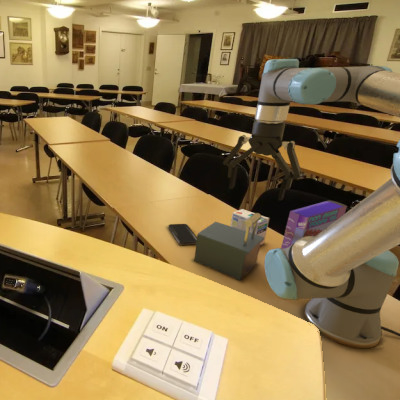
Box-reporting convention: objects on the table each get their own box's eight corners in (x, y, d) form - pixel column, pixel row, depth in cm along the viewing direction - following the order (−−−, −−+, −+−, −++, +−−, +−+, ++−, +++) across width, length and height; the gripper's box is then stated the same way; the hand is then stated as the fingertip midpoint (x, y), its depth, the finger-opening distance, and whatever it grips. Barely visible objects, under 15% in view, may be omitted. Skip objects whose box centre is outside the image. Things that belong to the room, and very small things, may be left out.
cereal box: (287, 289, 95) (307, 217, 86) (272, 280, 99) (290, 210, 90) (325, 274, 101) (347, 205, 92) (309, 266, 105) (329, 199, 96)
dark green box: (256, 264, 107) (261, 238, 104) (240, 280, 100) (245, 253, 96) (211, 247, 118) (215, 223, 114) (194, 260, 110) (197, 235, 106)
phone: (186, 223, 133) (200, 241, 120) (186, 226, 134) (199, 244, 120) (167, 224, 133) (179, 242, 119) (167, 226, 134) (179, 245, 120)
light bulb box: (264, 243, 119) (270, 217, 115) (254, 249, 116) (259, 222, 112) (238, 232, 128) (242, 208, 124) (227, 237, 124) (232, 212, 120)
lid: (264, 239, 103) (270, 212, 99) (248, 254, 95) (254, 226, 92) (215, 223, 114) (218, 198, 111) (197, 235, 106) (200, 209, 103)
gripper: (328, 123, 81) (307, 200, 89) (228, 115, 97) (218, 180, 106) (322, 128, 76) (300, 208, 85) (218, 118, 92) (208, 187, 101)
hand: (254, 193), depth 95 cm, fingers open, 13 cm apart
